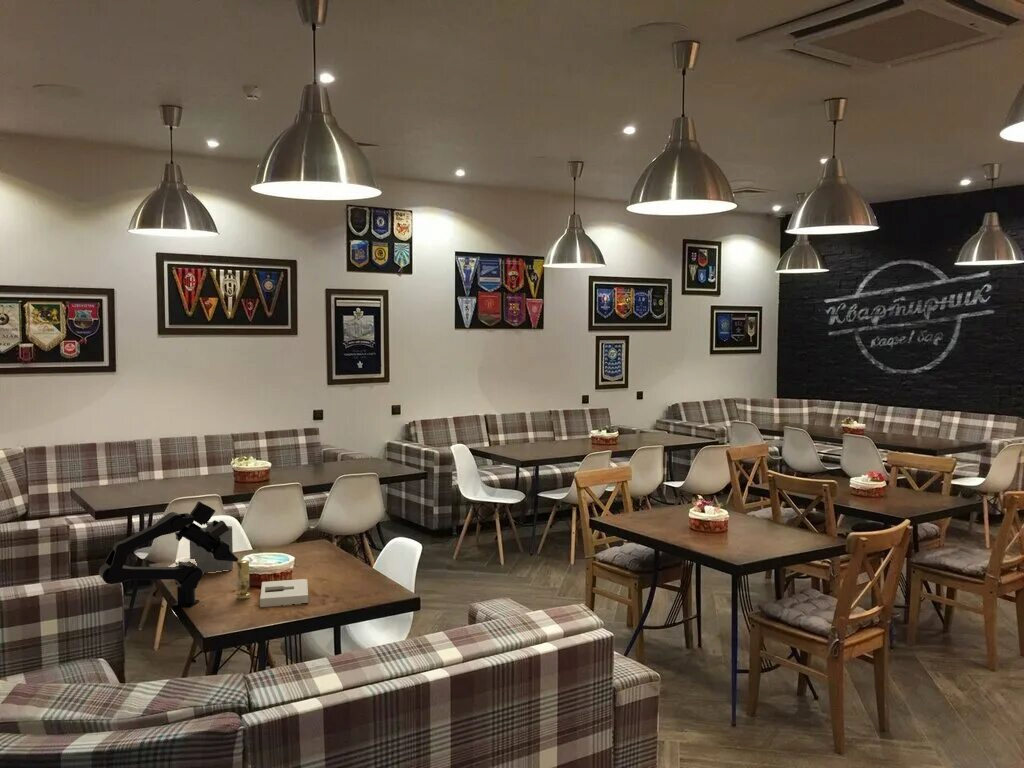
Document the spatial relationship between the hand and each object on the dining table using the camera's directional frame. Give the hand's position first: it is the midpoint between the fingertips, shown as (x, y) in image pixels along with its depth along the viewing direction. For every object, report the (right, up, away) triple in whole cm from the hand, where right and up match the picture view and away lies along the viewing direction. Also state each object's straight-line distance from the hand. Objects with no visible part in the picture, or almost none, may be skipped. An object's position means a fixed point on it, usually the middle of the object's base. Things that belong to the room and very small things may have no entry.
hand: (234, 557), depth 298 cm
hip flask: (-19, -12, +30) cm, 38 cm away
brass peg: (+4, -14, -1) cm, 15 cm away
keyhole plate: (+17, -14, 0) cm, 22 cm away
